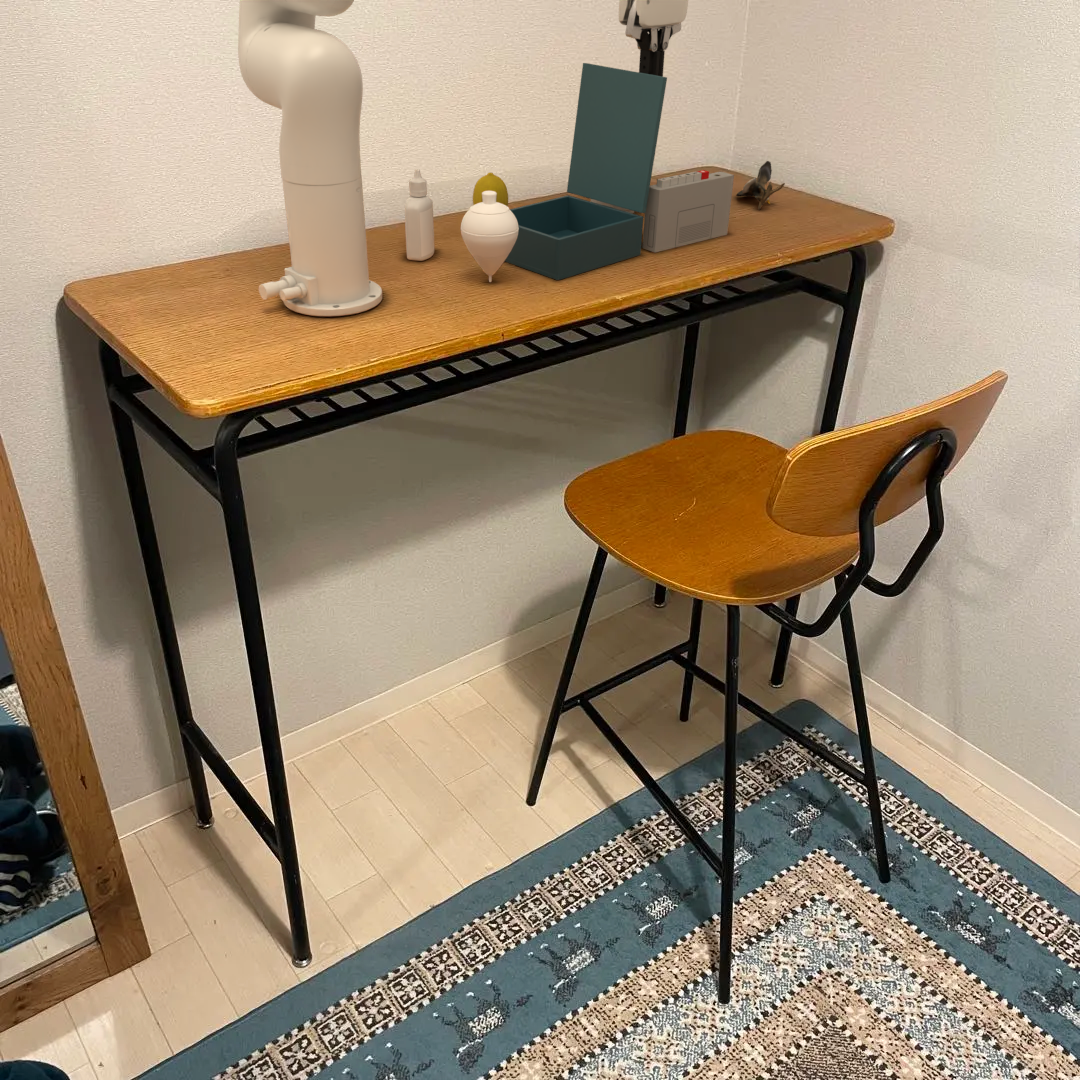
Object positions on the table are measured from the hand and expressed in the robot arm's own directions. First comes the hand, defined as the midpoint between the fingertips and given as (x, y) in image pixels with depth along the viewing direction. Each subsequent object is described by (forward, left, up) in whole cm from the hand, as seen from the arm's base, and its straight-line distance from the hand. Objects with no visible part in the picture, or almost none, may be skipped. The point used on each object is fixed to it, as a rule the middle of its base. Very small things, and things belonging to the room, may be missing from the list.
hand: (650, 79), depth 150 cm
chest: (-17, 0, -22) cm, 28 cm away
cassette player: (+2, -8, -22) cm, 24 cm away
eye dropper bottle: (-33, +13, -22) cm, 42 cm away
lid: (-8, 0, -7) cm, 10 cm away
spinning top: (-33, -2, -22) cm, 40 cm away
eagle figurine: (+28, -2, -22) cm, 36 cm away
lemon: (-15, +18, -22) cm, 32 cm away
